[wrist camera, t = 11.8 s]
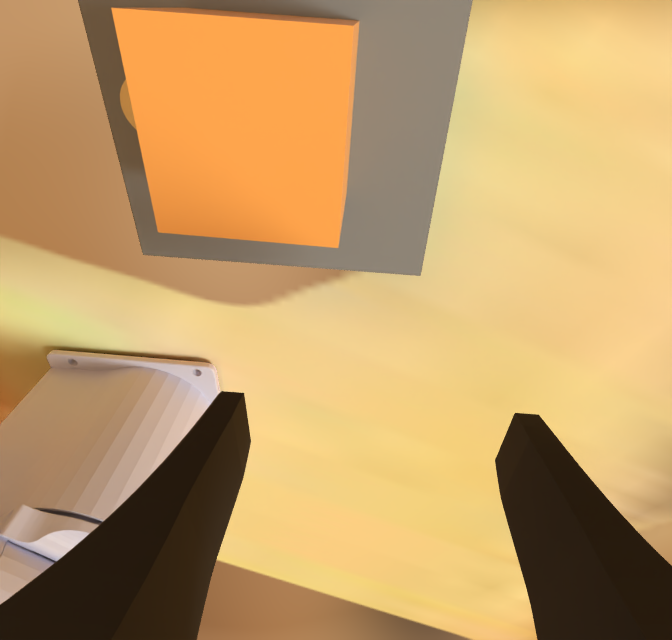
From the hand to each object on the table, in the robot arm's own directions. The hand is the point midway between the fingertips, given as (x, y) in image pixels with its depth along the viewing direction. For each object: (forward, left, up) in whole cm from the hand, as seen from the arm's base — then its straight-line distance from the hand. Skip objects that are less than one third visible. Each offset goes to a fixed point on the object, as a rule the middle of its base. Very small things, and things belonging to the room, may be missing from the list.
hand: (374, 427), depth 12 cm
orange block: (-4, +6, -8) cm, 11 cm away
